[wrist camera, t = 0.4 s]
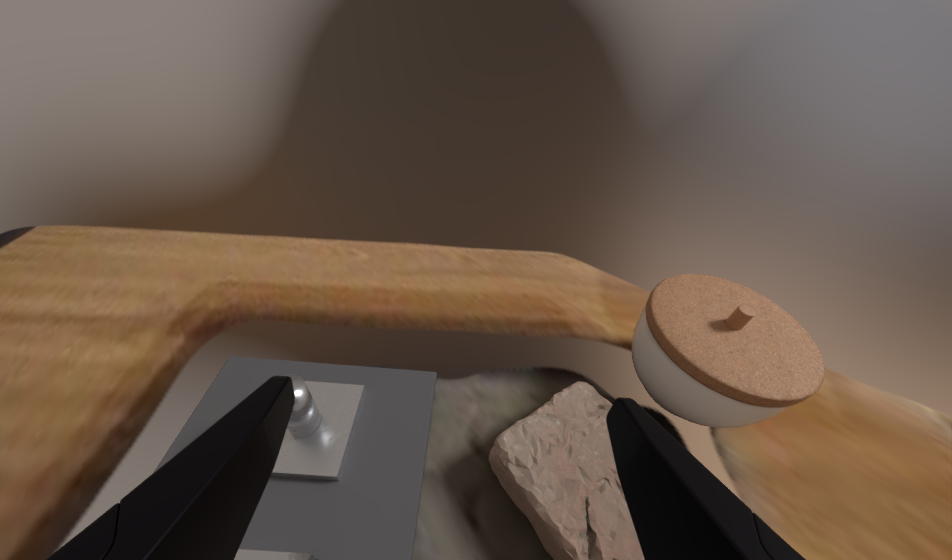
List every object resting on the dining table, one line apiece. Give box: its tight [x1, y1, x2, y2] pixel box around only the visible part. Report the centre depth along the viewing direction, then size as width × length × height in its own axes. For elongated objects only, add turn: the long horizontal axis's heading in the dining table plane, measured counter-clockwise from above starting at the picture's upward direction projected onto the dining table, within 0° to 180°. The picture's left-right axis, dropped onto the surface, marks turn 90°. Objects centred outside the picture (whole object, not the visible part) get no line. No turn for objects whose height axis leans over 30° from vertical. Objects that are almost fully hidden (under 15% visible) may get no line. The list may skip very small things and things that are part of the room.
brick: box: [489, 382, 645, 560], centre depth 19 cm, size 17×8×5 cm, turn 36°
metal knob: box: [271, 374, 366, 481], centre depth 21 cm, size 6×6×5 cm
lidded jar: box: [632, 274, 824, 428], centre depth 26 cm, size 11×11×9 cm
